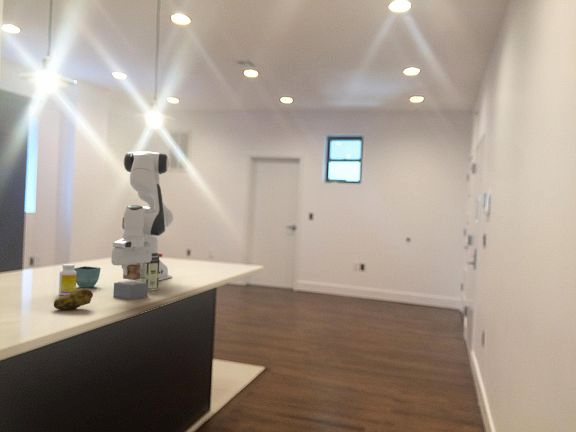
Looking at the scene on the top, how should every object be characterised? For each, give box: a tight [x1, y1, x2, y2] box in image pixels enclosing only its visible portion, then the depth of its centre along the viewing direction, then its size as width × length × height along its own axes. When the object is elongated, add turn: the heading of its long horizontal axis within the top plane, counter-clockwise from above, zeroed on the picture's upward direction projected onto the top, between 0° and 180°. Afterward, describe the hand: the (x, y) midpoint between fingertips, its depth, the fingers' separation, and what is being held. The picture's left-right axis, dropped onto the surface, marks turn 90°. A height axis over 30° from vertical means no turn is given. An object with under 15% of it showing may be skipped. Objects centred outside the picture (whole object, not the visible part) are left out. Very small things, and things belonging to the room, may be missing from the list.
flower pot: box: [74, 266, 102, 289], centre depth 232 cm, size 9×9×9 cm
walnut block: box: [122, 264, 141, 281], centre depth 214 cm, size 5×5×6 cm
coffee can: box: [136, 259, 161, 292], centre depth 235 cm, size 10×10×14 cm
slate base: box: [112, 279, 149, 301], centre depth 214 cm, size 10×10×6 cm
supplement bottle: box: [58, 263, 77, 296], centre depth 211 cm, size 7×7×13 cm
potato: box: [53, 287, 94, 311], centre depth 184 cm, size 8×13×8 cm, turn 99°
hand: (131, 274), depth 214 cm, fingers closed on walnut block, 5 cm apart
